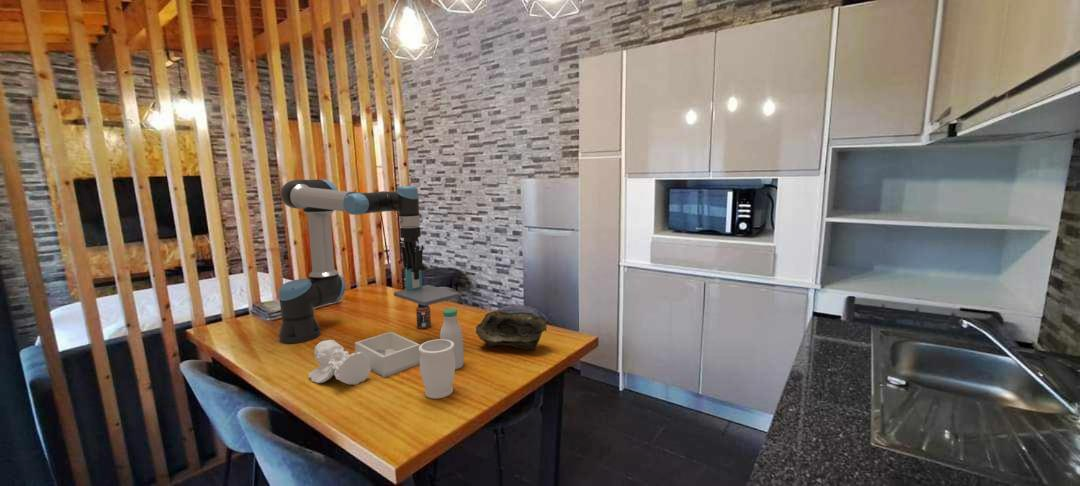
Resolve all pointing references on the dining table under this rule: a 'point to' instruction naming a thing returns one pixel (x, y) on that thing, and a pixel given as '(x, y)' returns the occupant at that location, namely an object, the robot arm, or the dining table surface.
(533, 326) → the hollow geode rock
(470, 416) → the dining table surface
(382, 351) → the steel nut
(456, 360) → the milk bottle
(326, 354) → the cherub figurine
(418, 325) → the supplement bottle
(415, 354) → the tub
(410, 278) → the lid
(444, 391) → the jar
